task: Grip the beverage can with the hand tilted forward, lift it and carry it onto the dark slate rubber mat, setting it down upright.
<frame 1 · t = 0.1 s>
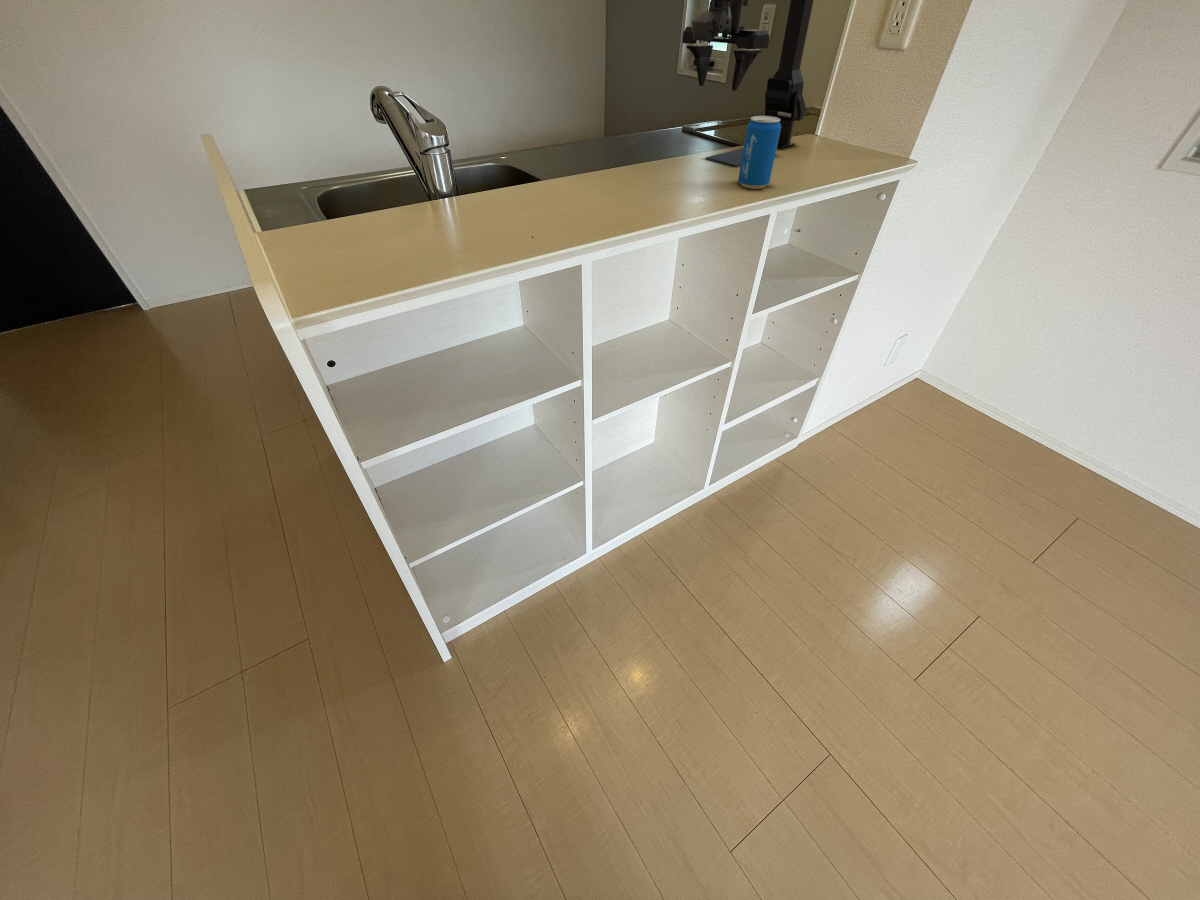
hand: (717, 88, 110), 15 cm above the counter, tool pointing down, fingers open, 9 cm apart
mat: (741, 157, 124), on the counter
beverage can: (752, 186, 107), on the counter
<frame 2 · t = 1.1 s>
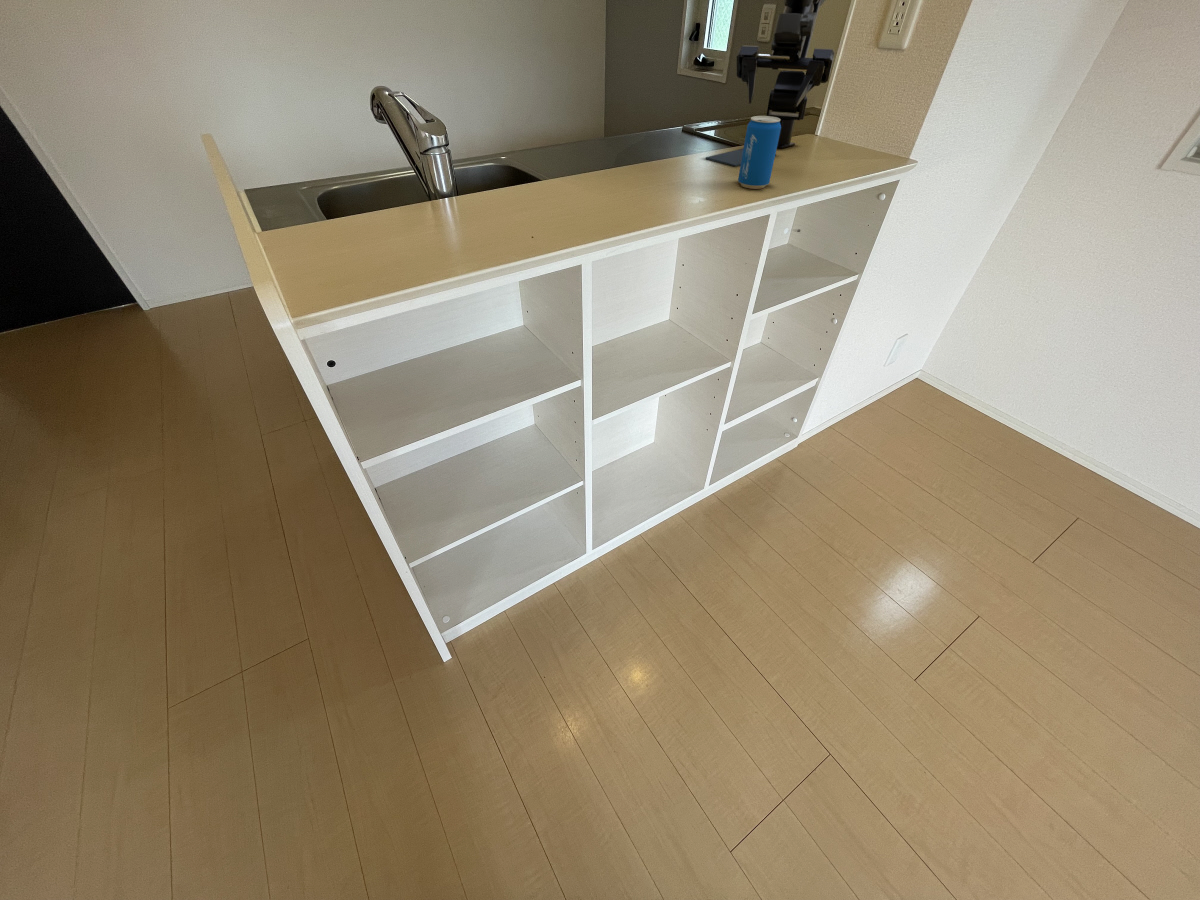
hand: (772, 103, 103), 13 cm above the counter, tool tilted 45°, fingers open, 9 cm apart
nothing on the counter moved.
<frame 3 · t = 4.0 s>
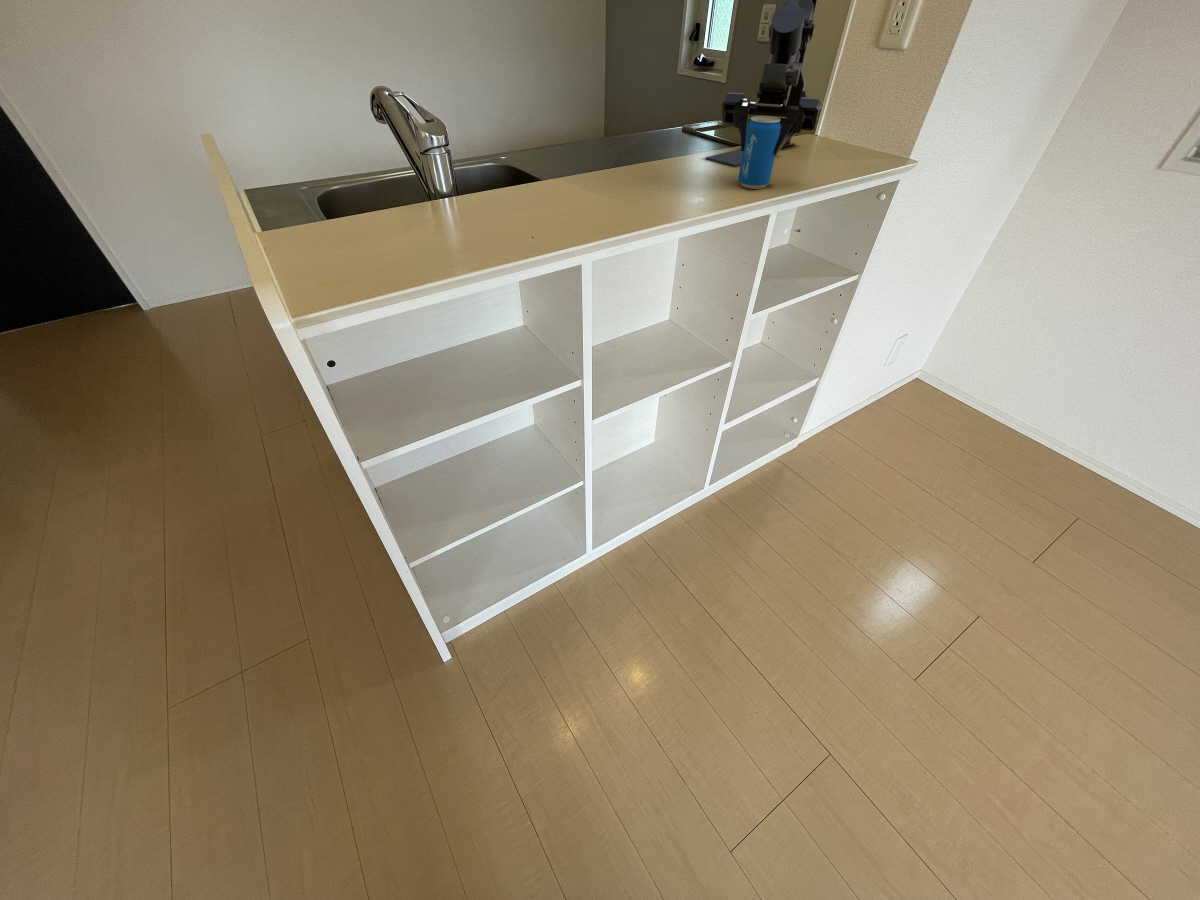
hand: (758, 151, 101), 7 cm above the counter, tool tilted 45°, fingers closed on beverage can, 6 cm apart
beverage can: (752, 186, 107), on the counter, touching gripper
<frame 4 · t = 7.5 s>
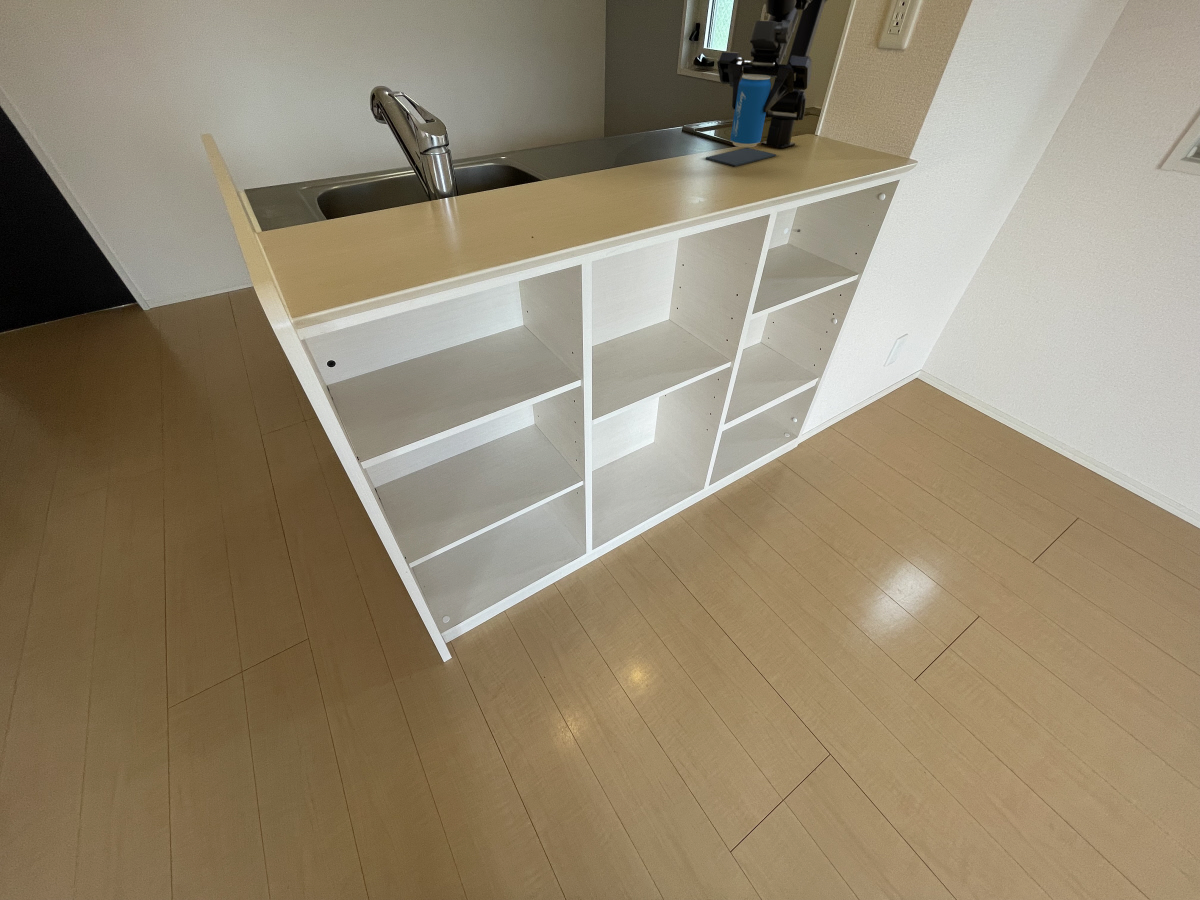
hand: (748, 109, 104), 12 cm above the counter, tool tilted 45°, fingers closed on beverage can, 6 cm apart
beverage can: (744, 145, 110), point 5 cm above the counter, touching gripper
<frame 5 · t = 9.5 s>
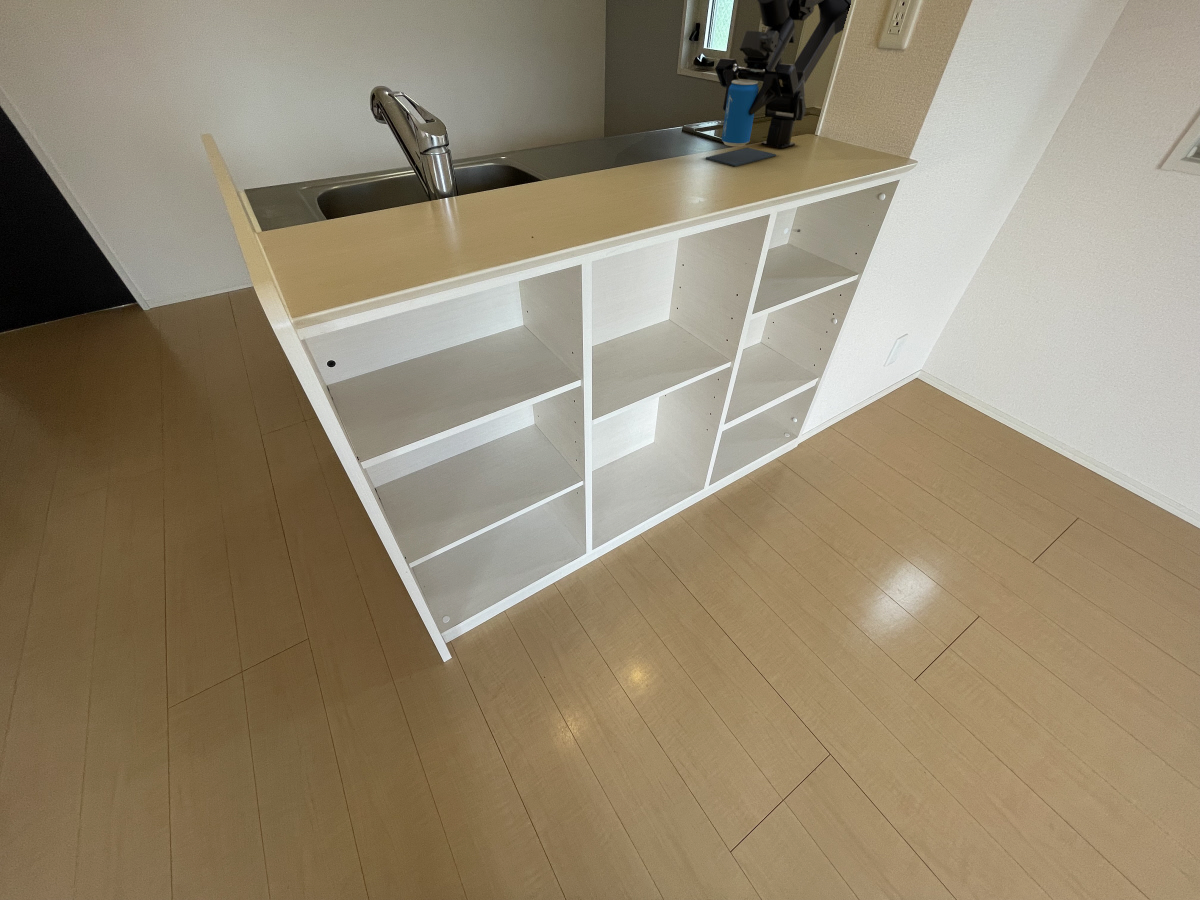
hand: (736, 111, 114), 10 cm above the counter, tool tilted 45°, fingers closed on beverage can, 6 cm apart
beverage can: (734, 145, 119), point 3 cm above the counter, touching gripper
when the fingers open (7 cm above the counter, at t = 11.0 s): beverage can stays where it is, resting on mat.
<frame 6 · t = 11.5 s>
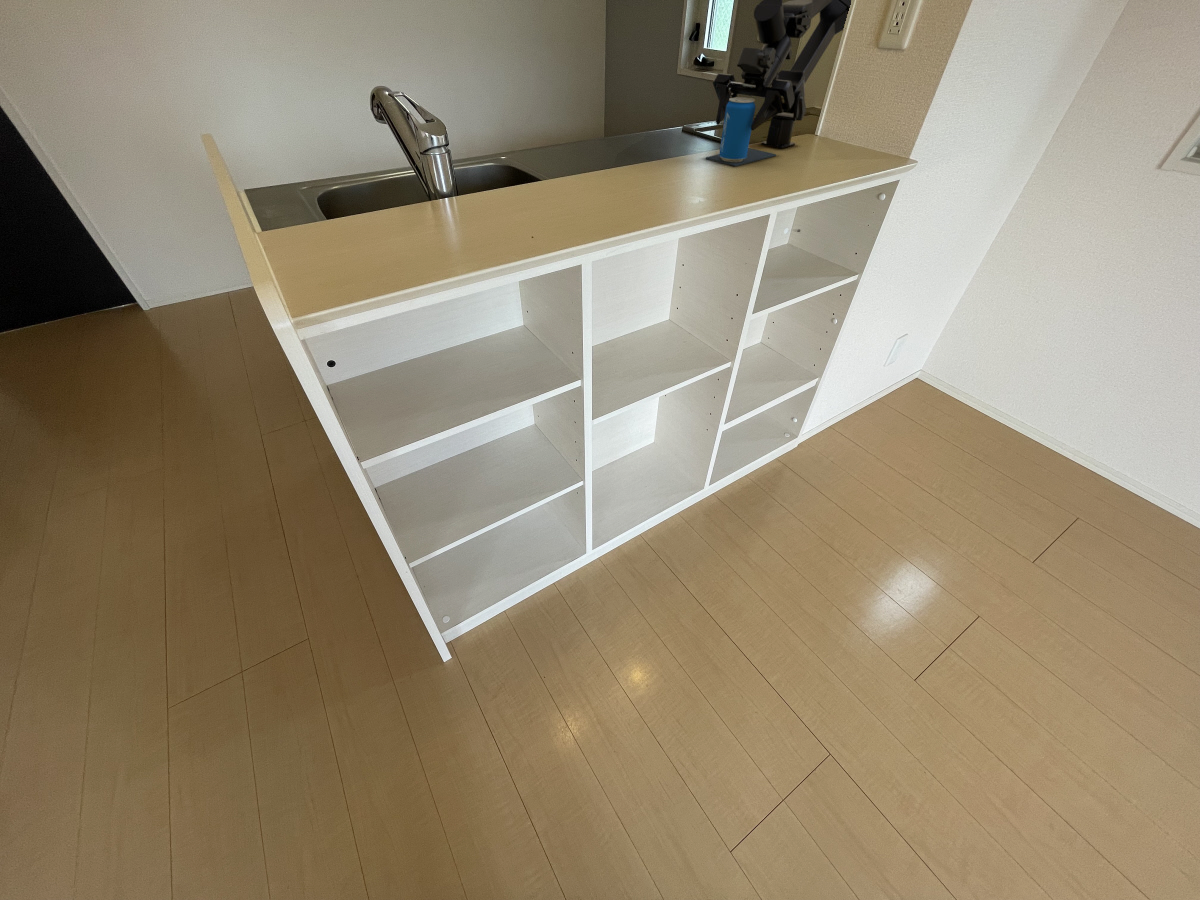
hand: (733, 126, 115), 7 cm above the counter, tool tilted 45°, fingers open, 9 cm apart
beverage can: (732, 160, 121), resting on mat
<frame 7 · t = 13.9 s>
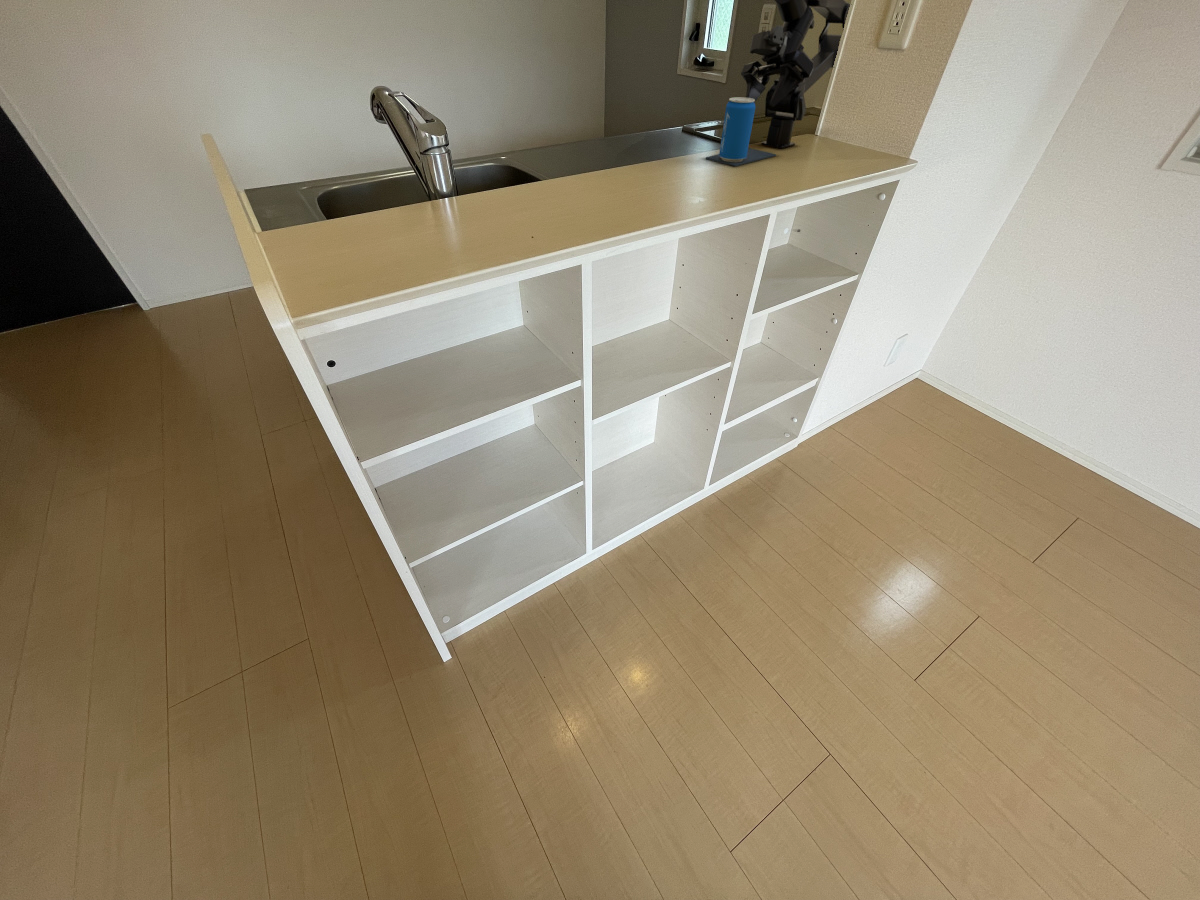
hand: (758, 108, 120), 10 cm above the counter, tool tilted 35°, fingers open, 9 cm apart
nothing on the counter moved.
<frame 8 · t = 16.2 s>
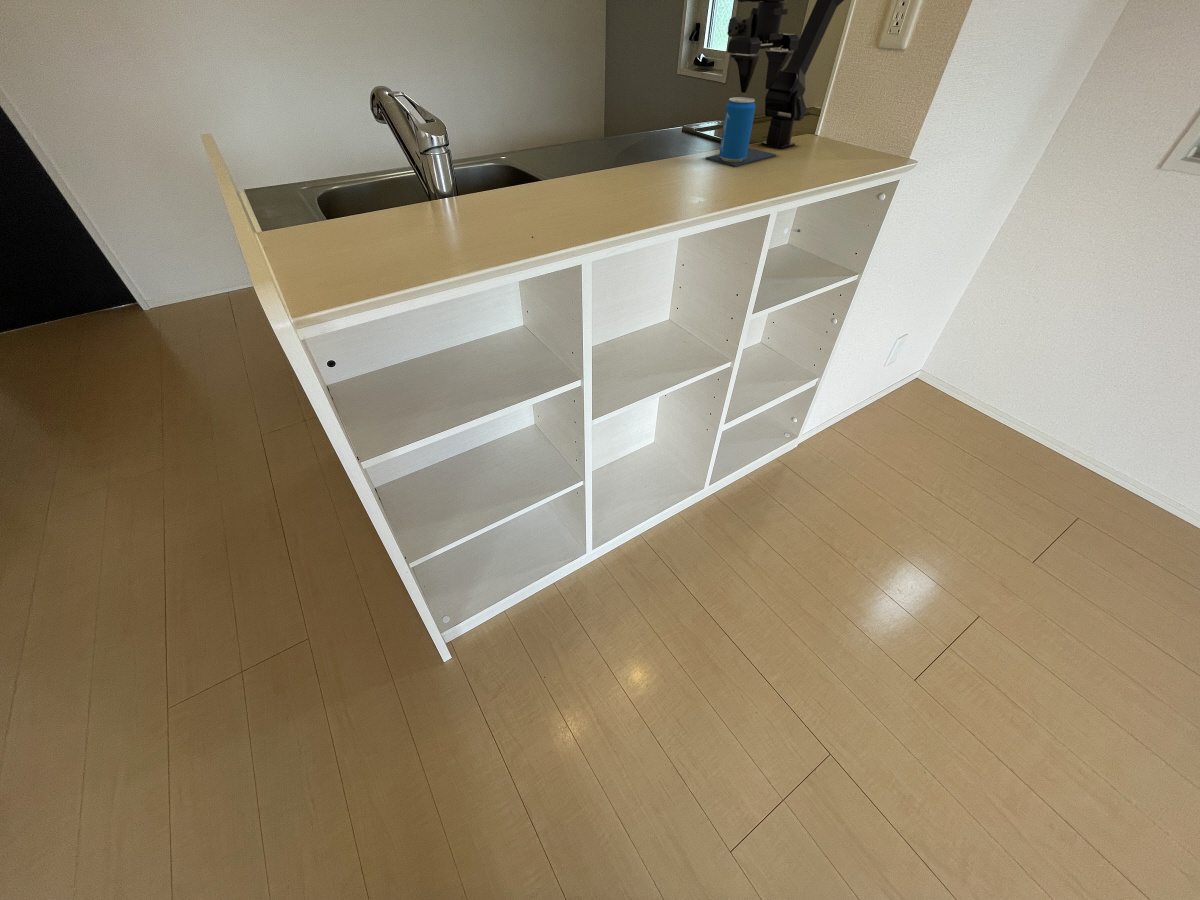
hand: (755, 90, 118), 13 cm above the counter, tool pointing down, fingers open, 9 cm apart
nothing on the counter moved.
at the end: beverage can inside the target area on the mat (4.9 cm from its centre), point 0.2 cm above the mat's base; beverage can tilted 0°; beverage can moved 19.7 cm from its start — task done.
